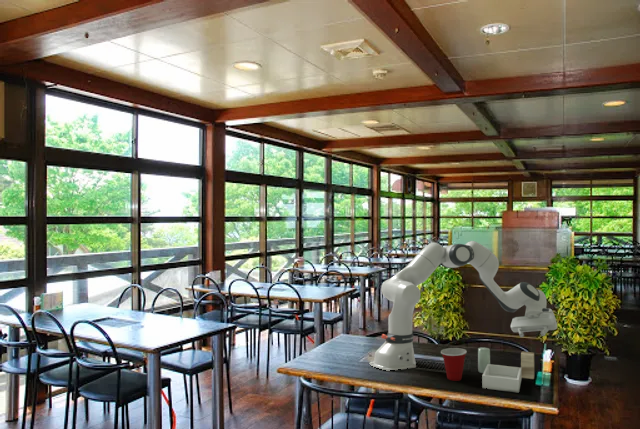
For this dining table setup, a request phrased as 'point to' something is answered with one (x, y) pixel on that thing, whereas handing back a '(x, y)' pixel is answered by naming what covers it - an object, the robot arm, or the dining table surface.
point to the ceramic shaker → (483, 359)
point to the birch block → (527, 365)
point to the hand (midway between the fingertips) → (531, 335)
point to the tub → (502, 378)
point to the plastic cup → (454, 362)
